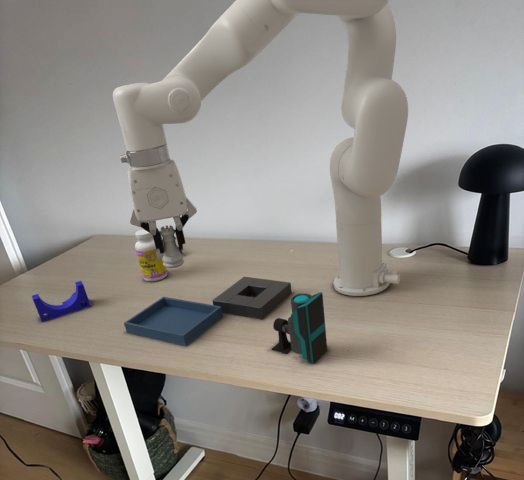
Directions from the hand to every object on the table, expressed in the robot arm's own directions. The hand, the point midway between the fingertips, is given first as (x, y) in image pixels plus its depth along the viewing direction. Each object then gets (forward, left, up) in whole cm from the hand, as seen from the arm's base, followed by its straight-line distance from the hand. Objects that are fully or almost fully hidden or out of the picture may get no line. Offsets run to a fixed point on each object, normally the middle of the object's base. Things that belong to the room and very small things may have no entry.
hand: (171, 248), depth 107 cm
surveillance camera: (-29, +3, -17) cm, 34 cm away
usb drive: (+35, -32, -17) cm, 50 cm away
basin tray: (+2, +3, -17) cm, 17 cm away
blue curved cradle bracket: (+36, +6, -17) cm, 40 cm away
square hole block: (-9, -12, -17) cm, 23 cm away
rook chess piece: (0, 0, -4) cm, 4 cm away
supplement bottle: (+26, -17, -17) cm, 35 cm away
